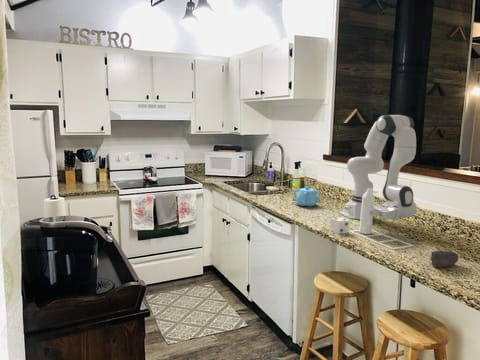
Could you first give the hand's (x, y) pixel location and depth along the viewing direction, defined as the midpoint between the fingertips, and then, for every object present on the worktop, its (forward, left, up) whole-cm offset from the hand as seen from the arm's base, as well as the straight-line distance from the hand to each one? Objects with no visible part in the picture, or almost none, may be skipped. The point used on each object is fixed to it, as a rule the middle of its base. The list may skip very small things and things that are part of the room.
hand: (366, 211), depth 207 cm
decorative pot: (-69, +9, -13) cm, 71 cm away
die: (-8, -11, -13) cm, 18 cm away
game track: (+10, +1, -13) cm, 16 cm away
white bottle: (0, +1, -13) cm, 13 cm away
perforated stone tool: (+49, -1, -13) cm, 51 cm away
